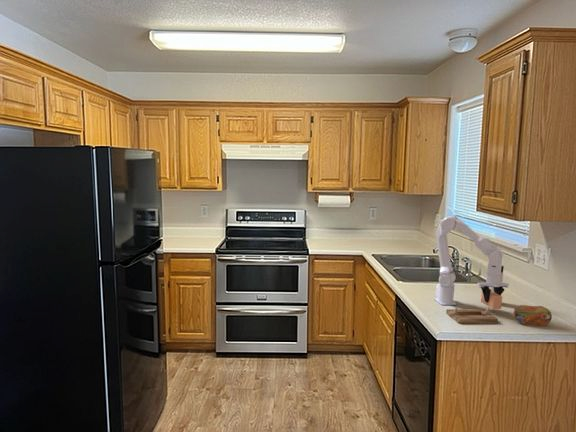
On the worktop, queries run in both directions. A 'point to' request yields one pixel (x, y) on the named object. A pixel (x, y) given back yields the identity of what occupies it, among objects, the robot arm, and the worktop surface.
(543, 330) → the worktop surface
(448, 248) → the robot arm
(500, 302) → the bar
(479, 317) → the board
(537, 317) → the tin
